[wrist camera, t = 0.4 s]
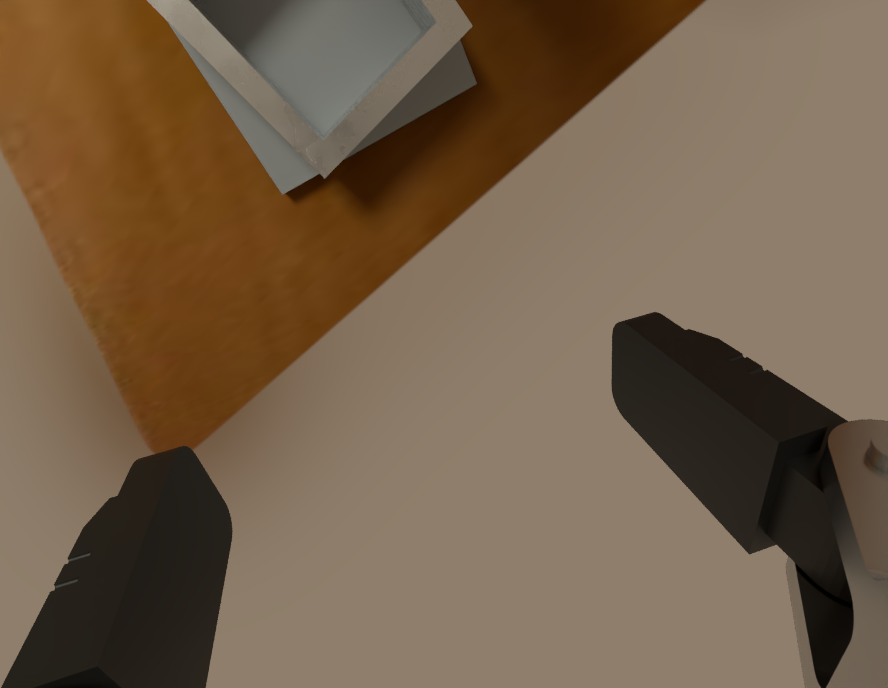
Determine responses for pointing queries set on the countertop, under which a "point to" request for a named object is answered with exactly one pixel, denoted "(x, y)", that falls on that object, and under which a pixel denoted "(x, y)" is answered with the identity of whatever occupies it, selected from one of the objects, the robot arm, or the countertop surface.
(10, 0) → the countertop surface
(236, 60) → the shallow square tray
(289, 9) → the board
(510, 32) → the countertop surface
